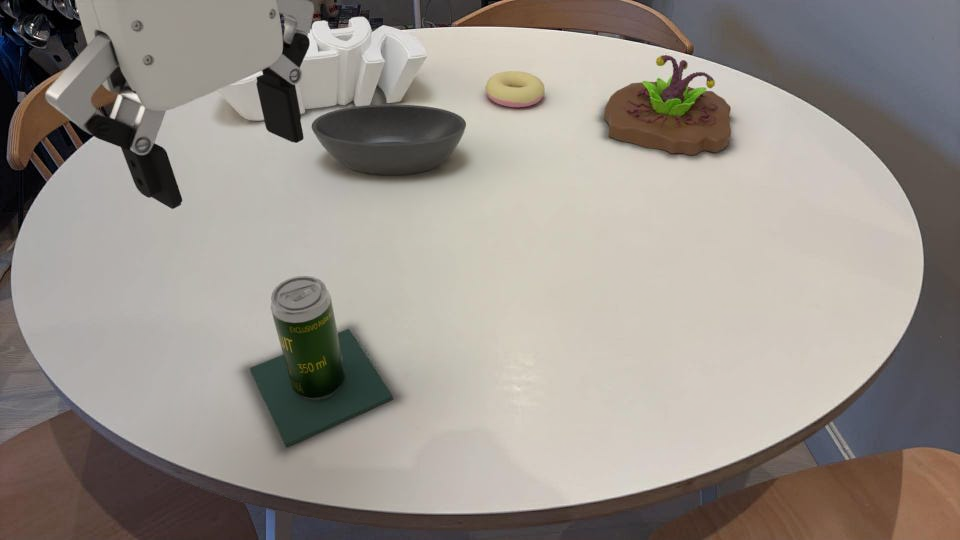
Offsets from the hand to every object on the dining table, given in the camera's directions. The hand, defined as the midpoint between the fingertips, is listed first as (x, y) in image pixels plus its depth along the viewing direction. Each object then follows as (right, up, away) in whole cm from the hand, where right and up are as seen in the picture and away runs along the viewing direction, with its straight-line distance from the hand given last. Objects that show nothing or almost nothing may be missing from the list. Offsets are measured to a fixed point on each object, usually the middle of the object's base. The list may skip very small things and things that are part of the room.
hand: (228, 165), depth 46 cm
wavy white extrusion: (-10, +22, +74) cm, 78 cm away
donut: (+22, +22, +74) cm, 80 cm away
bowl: (+4, +9, +58) cm, 59 cm away
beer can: (0, -18, +25) cm, 31 cm away
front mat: (0, -19, +25) cm, 31 cm away
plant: (+47, +17, +67) cm, 83 cm away
